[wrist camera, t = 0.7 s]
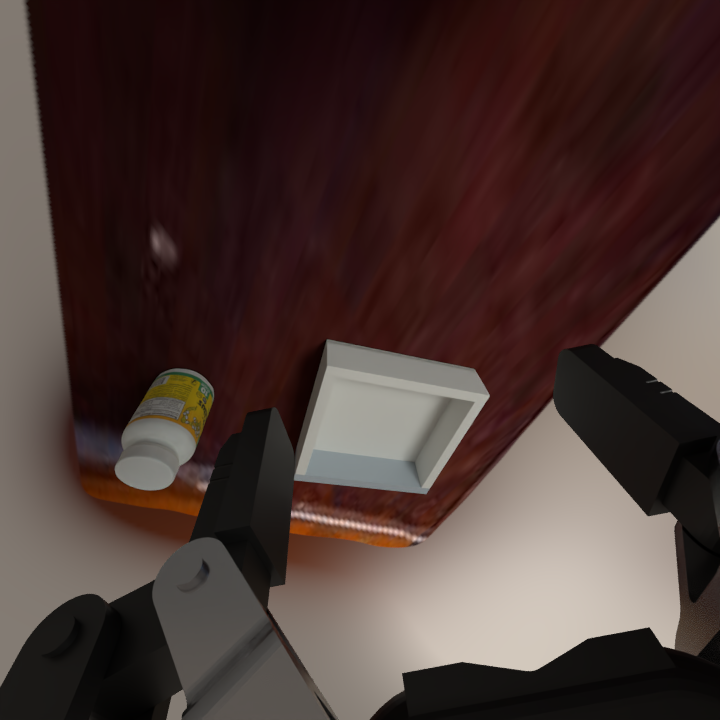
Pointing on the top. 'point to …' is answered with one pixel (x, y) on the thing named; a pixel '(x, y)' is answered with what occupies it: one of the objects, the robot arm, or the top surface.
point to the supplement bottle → (164, 429)
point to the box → (384, 418)
